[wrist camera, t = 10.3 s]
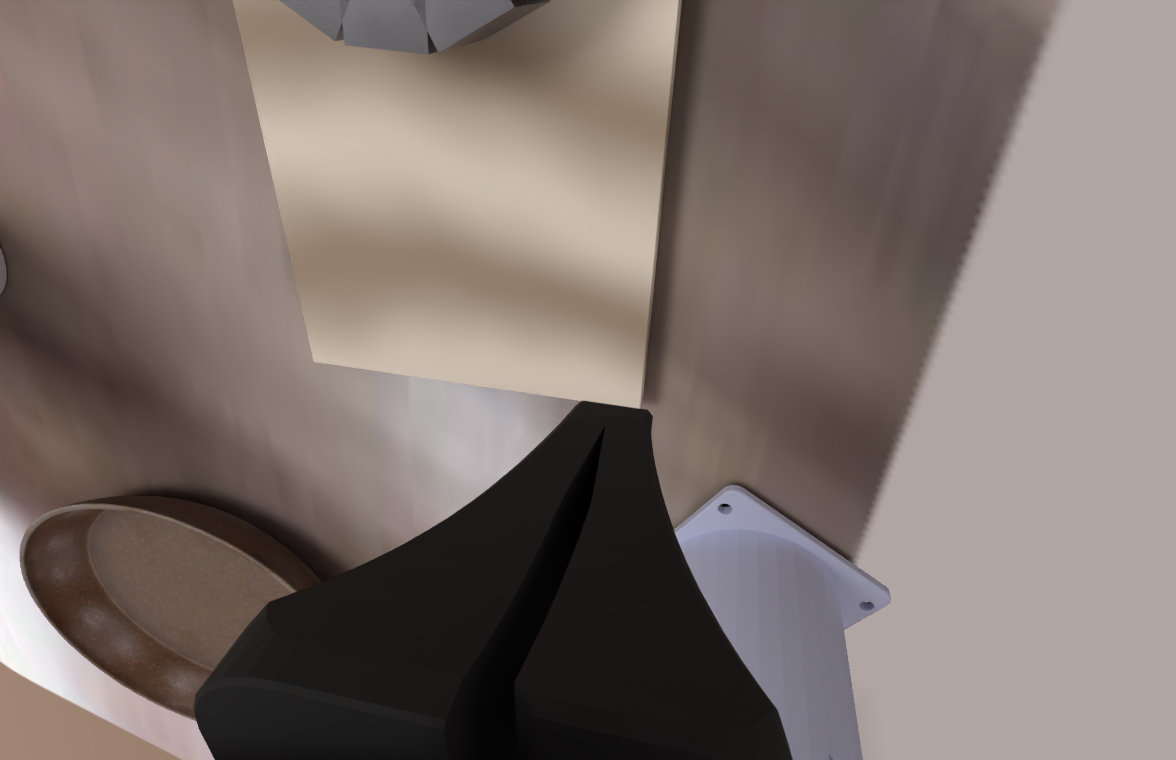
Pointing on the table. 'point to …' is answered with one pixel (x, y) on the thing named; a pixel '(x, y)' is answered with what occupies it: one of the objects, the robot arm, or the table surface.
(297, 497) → the table surface
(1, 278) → the coffee cup
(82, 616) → the plant saucer
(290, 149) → the mount plate
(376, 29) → the dark grey segmented ring
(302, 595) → the robot arm
